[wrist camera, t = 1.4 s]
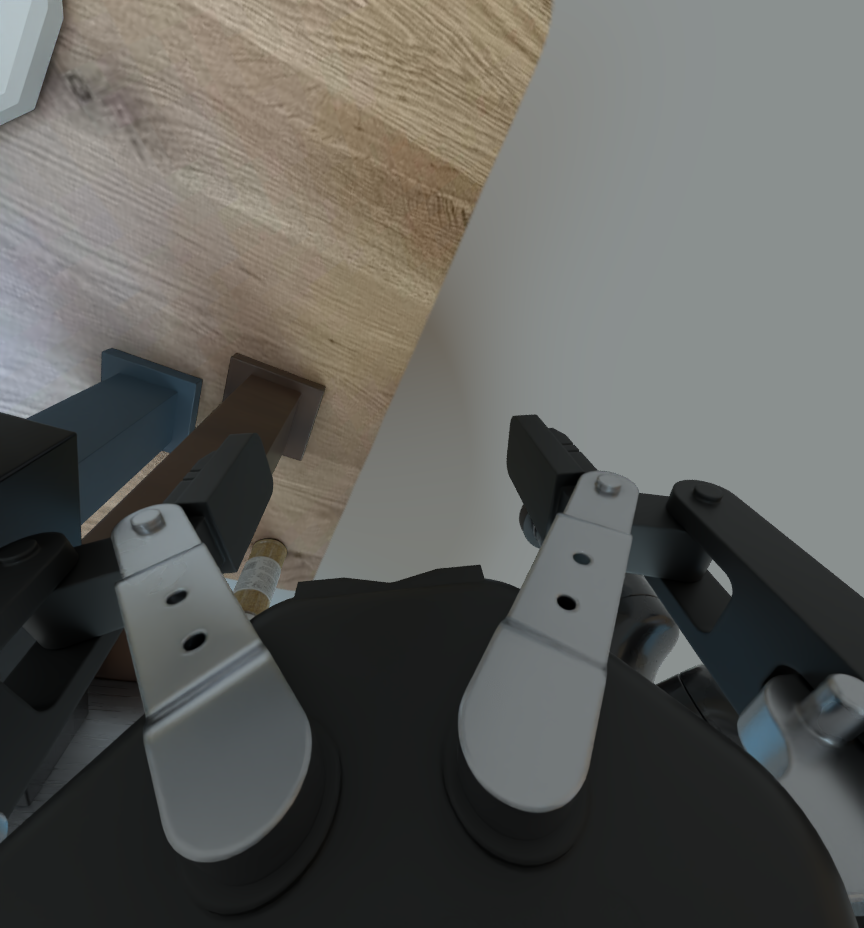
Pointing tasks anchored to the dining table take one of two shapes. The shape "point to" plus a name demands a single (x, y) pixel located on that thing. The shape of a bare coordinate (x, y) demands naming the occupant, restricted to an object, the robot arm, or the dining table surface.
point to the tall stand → (242, 411)
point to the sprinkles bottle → (260, 576)
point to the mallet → (4, 521)
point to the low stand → (124, 422)
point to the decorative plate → (25, 52)
